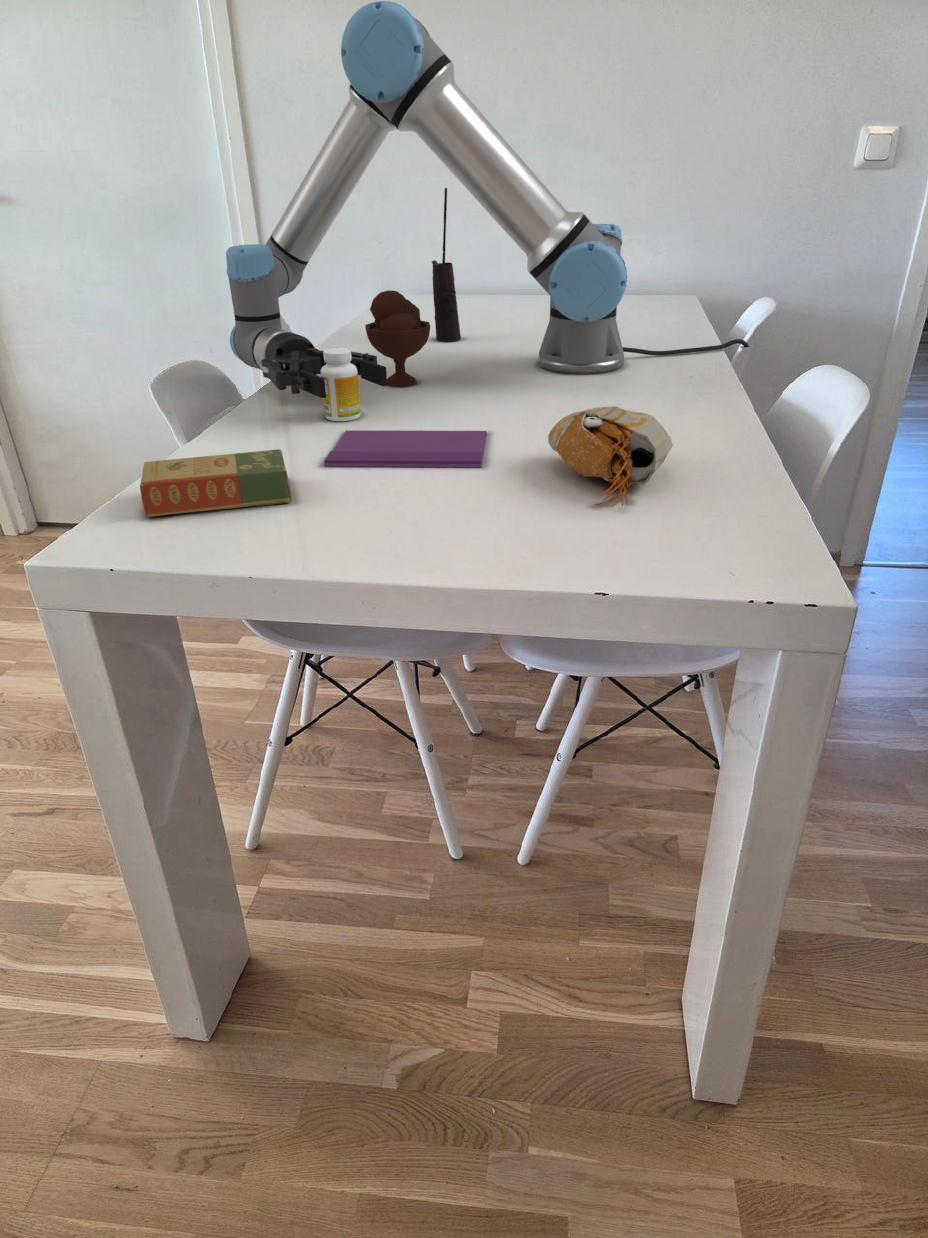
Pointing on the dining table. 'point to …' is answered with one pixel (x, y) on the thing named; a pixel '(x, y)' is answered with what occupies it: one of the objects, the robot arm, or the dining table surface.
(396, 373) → the ice cream bowl
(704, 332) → the dining table surface
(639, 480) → the nautilus
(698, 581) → the dining table surface
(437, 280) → the butter churn
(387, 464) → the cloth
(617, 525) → the dining table surface
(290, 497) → the carton
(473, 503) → the dining table surface
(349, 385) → the supplement bottle
